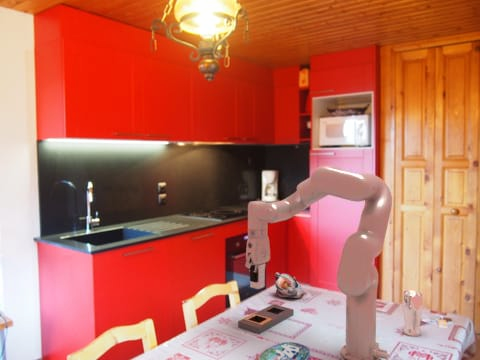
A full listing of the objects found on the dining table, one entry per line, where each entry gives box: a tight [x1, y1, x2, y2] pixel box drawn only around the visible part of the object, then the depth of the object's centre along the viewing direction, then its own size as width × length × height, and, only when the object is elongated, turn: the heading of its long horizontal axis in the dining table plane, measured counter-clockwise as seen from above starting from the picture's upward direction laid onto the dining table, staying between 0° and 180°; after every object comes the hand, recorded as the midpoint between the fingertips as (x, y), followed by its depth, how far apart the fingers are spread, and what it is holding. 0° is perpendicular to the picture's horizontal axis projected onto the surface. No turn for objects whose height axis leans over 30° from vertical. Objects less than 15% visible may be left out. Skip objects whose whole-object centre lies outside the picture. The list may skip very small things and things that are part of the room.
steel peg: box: [249, 263, 266, 290], centre depth 154 cm, size 4×4×9 cm
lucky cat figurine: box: [274, 272, 306, 299], centre depth 190 cm, size 15×12×14 cm
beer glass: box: [401, 290, 424, 337], centre depth 149 cm, size 7×7×15 cm
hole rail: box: [237, 303, 294, 335], centre depth 159 cm, size 10×24×3 cm, turn 141°
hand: (257, 279), depth 154 cm, fingers closed on steel peg, 4 cm apart
